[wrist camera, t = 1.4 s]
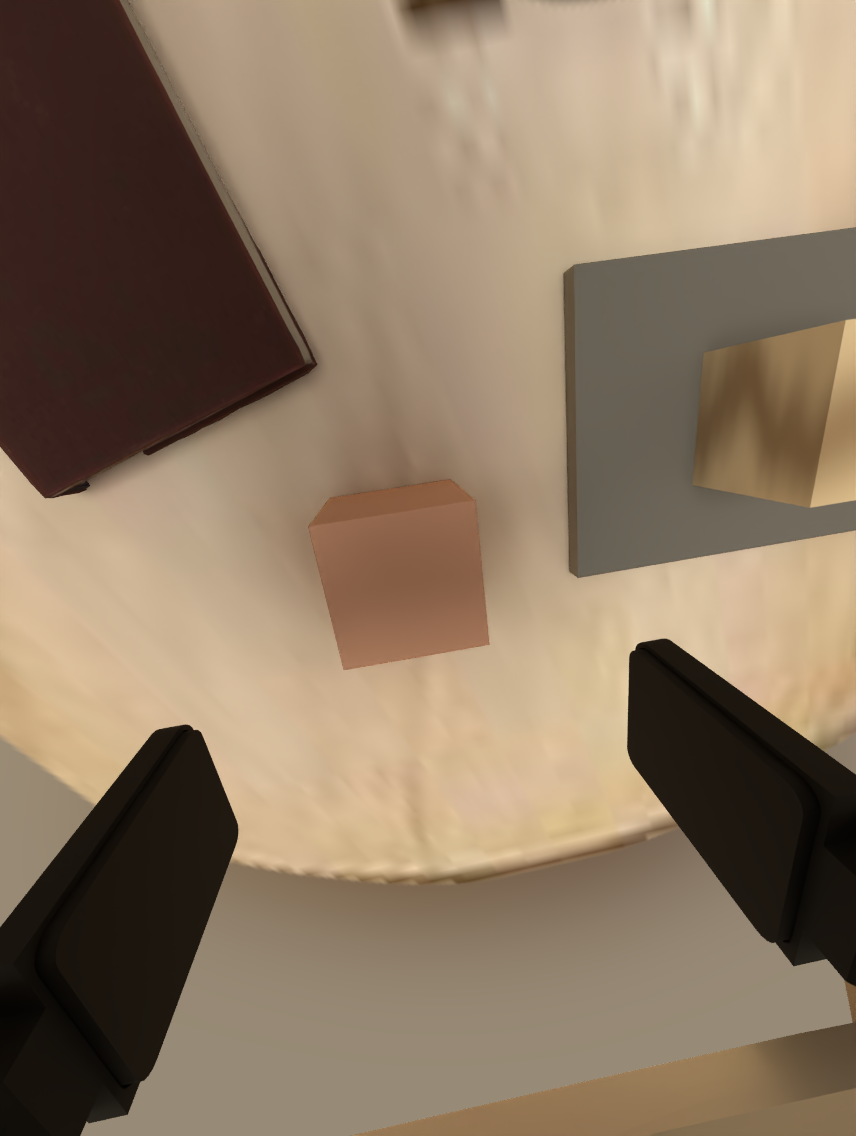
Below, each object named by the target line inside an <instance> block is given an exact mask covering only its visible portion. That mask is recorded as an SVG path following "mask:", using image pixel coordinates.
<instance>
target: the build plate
mask: <svg viewBox="0 0 856 1136" xmlns="http://www.w3.org/2000/svg"><path fill="white" fill-rule="evenodd" d="M564 299H565V351H566V402H567V454H568V505H569V557H570V572H571V573H572V574H574V575H575V576H576V577H577V578H580V577H586V576H592V575H598V574H604V573H609V572H615V571H621V570H627V569H633V568H639V567H644V566H650V565H656V564H662V563H668V562H674V561H679V560H685V559H691V558H697V557H703V556H709V555H714V554H720V553H726V552H732V551H738V550H744V549H749V548H755V547H761V546H767V545H773V544H779V543H784V542H790V541H796V540H802V539H808V538H814V537H819V536H825V535H831V534H837V533H843V532H849V531H854V530H856V500H854V501H848V502H842V503H836V504H830V505H824V506H818V507H812V508H808V507H803V506H798V505H793V504H788V503H783V502H777V501H772V500H767V499H762V498H757V497H751V496H746V495H741V494H736V493H731V492H726V491H720V490H715V489H710V488H705V487H700V486H695V485H692V482H693V470H694V459H695V447H696V435H697V424H698V412H699V401H700V389H701V377H702V366H703V354H704V352H708V351H713V350H717V349H722V348H726V347H730V346H735V345H739V344H743V343H748V342H752V341H757V340H761V339H765V338H770V337H774V336H778V335H783V334H787V333H792V332H796V331H800V330H805V329H809V328H813V327H818V326H822V325H827V324H831V323H835V322H840V321H844V320H850V319H856V227H855V228H848V229H840V230H832V231H825V232H817V233H810V234H802V235H795V236H787V237H780V238H772V239H765V240H757V241H749V242H742V243H734V244H727V245H719V246H712V247H704V248H697V249H689V250H682V251H674V252H666V253H659V254H651V255H644V256H636V257H629V258H621V259H614V260H606V261H599V262H591V263H583V264H576V265H573V266H572V267H571V268H570V269H569V270H567V271H566V272H565V273H564Z"/></svg>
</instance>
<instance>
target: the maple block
mask: <svg viewBox="0 0 856 1136" xmlns="http://www.w3.org/2000/svg"><path fill="white" fill-rule="evenodd" d="M692 485H695V486H700V487H705V488H710V489H715V490H720V491H726V492H731V493H736V494H741V495H746V496H751V497H757V498H762V499H767V500H772V501H777V502H783V503H788V504H793V505H798V506H803V507H808V508H812V507H818V506H824V505H830V504H836V503H842V502H848V501H854V500H856V319H850V320H844V321H840V322H835V323H831V324H827V325H822V326H818V327H813V328H809V329H805V330H800V331H796V332H792V333H787V334H783V335H778V336H774V337H770V338H765V339H761V340H757V341H752V342H748V343H743V344H739V345H735V346H730V347H726V348H722V349H717V350H713V351H708V352H704V354H703V366H702V377H701V389H700V401H699V412H698V424H697V435H696V447H695V459H694V470H693V482H692Z"/></svg>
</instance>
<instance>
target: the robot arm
mask: <svg viewBox="0 0 856 1136" xmlns="http://www.w3.org/2000/svg"><path fill="white" fill-rule="evenodd" d="M627 749H628V754H629V757H630V760H631V762H632V764H633V765H634V767H635V768H636V769H637V771H638V772H639V773H640V775H641V776H642V777H643V779H644V780H645V781H646V783H647V784H648V785H649V787H650V788H651V790H652V791H653V792H654V794H655V795H656V796H657V798H658V799H659V800H660V802H661V803H662V804H663V806H664V807H665V808H666V810H667V811H668V812H669V814H670V815H671V816H672V818H673V819H674V820H675V822H676V823H677V824H678V826H679V827H680V828H681V830H682V831H683V832H684V833H685V835H686V836H687V838H688V839H689V840H690V842H691V843H692V844H693V846H694V847H695V848H696V850H697V851H698V852H699V854H700V855H701V856H702V858H703V859H704V860H705V862H706V863H707V864H708V866H709V867H710V868H711V870H712V871H713V872H714V874H715V875H716V877H717V878H718V879H719V880H720V882H721V883H722V885H723V886H724V887H725V889H726V890H727V891H728V892H729V894H730V895H731V897H732V898H733V899H734V901H735V902H736V903H737V905H738V906H739V907H740V909H741V910H742V911H743V913H744V914H745V915H746V917H747V918H748V919H749V921H750V922H751V923H752V925H753V926H754V927H755V929H756V930H757V931H758V932H759V933H760V935H761V936H762V937H764V938H765V939H766V940H767V941H769V942H771V943H774V942H776V944H777V945H778V946H779V948H780V949H781V950H782V952H783V953H784V954H785V956H786V957H787V958H788V959H789V961H790V962H791V963H792V965H793V966H797V965H801V964H806V963H810V962H814V961H819V960H824V959H827V960H828V961H829V962H830V963H831V964H832V965H833V966H834V968H835V969H836V970H837V971H838V973H839V974H840V975H841V976H842V977H843V978H844V980H845V985H846V990H847V996H848V1001H849V1006H850V1011H851V1016H852V1021H853V1023H850V1024H845V1025H841V1026H835V1027H830V1028H825V1029H820V1030H815V1031H810V1032H805V1033H799V1034H795V1035H791V1036H786V1037H782V1038H777V1039H773V1040H768V1041H764V1042H760V1043H755V1044H750V1045H746V1046H741V1047H737V1048H732V1049H728V1050H723V1051H720V1052H715V1053H710V1054H705V1055H701V1056H697V1057H692V1058H688V1059H683V1060H679V1061H674V1062H670V1063H665V1064H661V1065H656V1066H652V1067H648V1068H643V1069H639V1070H634V1071H630V1072H625V1073H621V1074H617V1075H612V1076H608V1077H603V1078H598V1079H594V1080H590V1081H586V1082H581V1083H577V1084H573V1085H568V1086H564V1087H559V1088H555V1089H550V1090H546V1091H542V1092H538V1093H533V1094H529V1095H525V1096H520V1097H516V1098H511V1099H507V1100H503V1101H498V1102H494V1103H490V1104H485V1105H481V1106H477V1107H472V1108H468V1109H464V1110H459V1111H455V1112H451V1113H446V1114H442V1115H438V1116H433V1117H429V1118H425V1119H421V1120H416V1121H412V1122H408V1123H404V1124H399V1125H395V1126H390V1127H386V1128H382V1129H378V1130H373V1131H369V1132H364V1133H360V1134H356V1135H352V1136H856V774H854V773H853V772H851V771H850V770H849V769H847V768H846V767H844V766H843V765H842V764H840V763H839V762H837V761H836V760H835V759H833V758H832V757H831V756H829V755H828V754H827V753H825V752H824V751H822V750H821V749H820V748H818V747H817V746H815V745H814V744H813V743H811V742H810V741H809V740H807V739H806V738H804V737H803V736H802V735H800V734H799V733H798V732H796V731H795V730H793V729H792V728H791V727H789V726H788V725H786V724H785V723H784V722H782V721H781V720H780V719H778V718H777V717H775V716H774V715H773V714H771V713H770V712H769V711H767V710H766V709H764V708H763V707H762V706H760V705H759V704H757V703H756V702H755V701H753V700H752V699H751V698H749V697H748V696H746V695H745V694H744V693H742V692H741V691H740V690H738V689H737V688H735V687H734V686H733V685H731V684H730V683H728V682H727V681H726V680H724V679H723V678H722V677H720V676H719V675H717V674H716V673H715V672H713V671H712V670H711V669H709V668H708V667H706V666H705V665H704V664H702V663H701V662H699V661H698V660H697V659H695V658H694V657H693V656H691V655H690V654H688V653H687V652H686V651H684V650H683V649H682V648H680V647H679V646H677V645H676V644H675V643H673V642H672V641H670V640H668V639H658V640H653V641H647V642H642V643H639V644H637V646H636V650H635V651H632V652H631V653H630V657H629V696H628V738H627ZM237 839H238V824H237V821H236V818H235V816H234V813H233V811H232V808H231V806H230V803H229V801H228V798H227V796H226V793H225V791H224V788H223V786H222V783H221V781H220V778H219V776H218V773H217V771H216V768H215V766H214V763H213V761H212V758H211V756H210V753H209V751H208V748H207V746H206V743H205V741H204V738H203V736H202V734H201V732H200V731H199V730H193V728H192V727H191V726H190V725H180V726H174V727H169V728H163V729H159V730H156V731H155V732H154V733H153V734H152V735H151V736H150V737H149V738H148V740H147V741H146V742H145V744H144V745H143V746H142V747H141V749H140V750H139V751H138V753H137V754H136V755H135V756H134V758H133V759H132V760H131V761H130V763H129V764H128V765H127V767H126V768H125V769H124V770H123V772H122V773H121V774H120V775H119V777H118V778H117V779H116V781H115V782H114V783H113V784H112V786H111V787H110V788H109V789H108V791H107V792H106V793H105V795H104V796H103V797H102V798H101V800H100V801H99V802H98V803H97V805H96V806H95V807H94V809H93V810H92V811H91V812H90V814H89V815H88V816H87V817H86V819H85V820H84V821H83V823H82V824H81V825H80V826H79V828H78V829H77V830H76V832H75V833H74V834H73V835H72V837H71V838H70V839H69V841H68V842H67V843H66V844H65V846H64V847H63V848H62V849H61V851H60V852H59V853H58V855H57V856H56V857H55V858H54V859H53V861H52V862H51V863H50V865H49V866H48V867H47V868H46V870H45V871H44V872H43V874H42V875H41V876H40V877H39V879H38V880H37V881H36V883H35V884H34V885H33V886H32V888H31V889H30V890H29V891H28V893H27V894H26V895H25V896H24V898H23V899H22V900H21V902H20V903H19V904H18V905H17V907H16V908H15V909H14V910H13V912H12V913H11V914H10V916H9V917H8V918H7V919H6V921H5V922H4V923H3V924H2V926H1V927H0V1136H80V1135H81V1132H82V1130H83V1128H84V1126H85V1123H86V1121H87V1122H88V1123H92V1122H97V1121H101V1120H106V1119H110V1118H114V1117H119V1116H124V1115H128V1112H129V1110H130V1107H131V1104H132V1102H133V1099H134V1097H135V1094H136V1091H137V1089H138V1086H139V1083H140V1082H141V1081H144V1080H145V1079H146V1078H147V1077H148V1076H149V1074H150V1072H151V1071H152V1069H153V1067H154V1065H155V1062H156V1060H157V1058H158V1055H159V1052H160V1049H161V1047H162V1044H163V1041H164V1039H165V1036H166V1033H167V1030H168V1028H169V1025H170V1022H171V1020H172V1017H173V1014H174V1012H175V1009H176V1006H177V1003H178V1000H179V998H180V995H181V993H182V990H183V987H184V984H185V982H186V979H187V976H188V973H189V970H190V968H191V965H192V963H193V960H194V957H195V954H196V952H197V949H198V946H199V944H200V941H201V938H202V935H203V933H204V930H205V927H206V925H207V922H208V919H209V916H210V913H211V911H212V908H213V906H214V903H215V900H216V897H217V895H218V892H219V889H220V886H221V884H222V881H223V878H224V875H225V873H226V870H227V868H228V865H229V862H230V859H231V857H232V854H233V851H234V849H235V846H236V843H237Z"/></svg>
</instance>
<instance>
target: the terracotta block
mask: <svg viewBox="0 0 856 1136" xmlns="http://www.w3.org/2000/svg"><path fill="white" fill-rule="evenodd" d="M308 528H309V532H310V536H311V540H312V544H313V548H314V552H315V556H316V560H317V564H318V568H319V572H320V576H321V580H322V584H323V588H324V592H325V596H326V600H327V604H328V609H329V613H330V617H331V621H332V625H333V629H334V633H335V637H336V641H337V645H338V649H339V653H340V657H341V661H342V665H343V669H344V670H348V669H353V668H359V667H365V666H370V665H376V664H382V663H387V662H393V661H399V660H405V659H410V658H416V657H422V656H427V655H433V654H439V653H445V652H450V651H456V650H462V649H467V648H473V647H479V646H484V645H489V635H488V625H487V615H486V604H485V594H484V584H483V574H482V564H481V554H480V543H479V533H478V523H477V513H476V503H475V500H474V499H473V498H472V497H471V496H470V495H468V494H467V493H466V492H465V491H464V490H462V489H461V488H460V487H459V486H458V485H457V484H455V483H454V482H453V481H452V480H451V479H449V480H443V481H436V482H430V483H423V484H417V485H411V486H404V487H398V488H391V489H385V490H378V491H372V492H366V493H359V494H353V495H346V496H340V497H333V498H330V499H329V500H328V501H327V502H326V504H325V505H324V506H323V508H322V509H321V510H320V512H319V513H318V514H317V516H316V517H315V518H314V520H313V521H312V522H311V524H310V525H309V526H308Z"/></svg>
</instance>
